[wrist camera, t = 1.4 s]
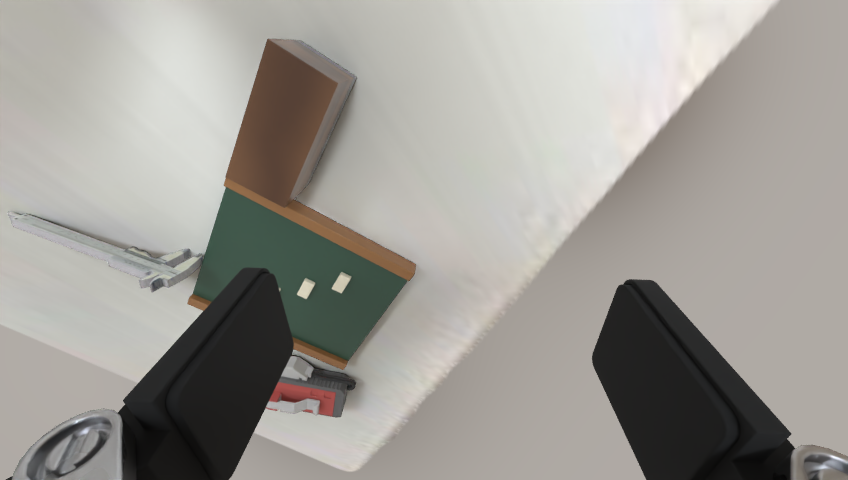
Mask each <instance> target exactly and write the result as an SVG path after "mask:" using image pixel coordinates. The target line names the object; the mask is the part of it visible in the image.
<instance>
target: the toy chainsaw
mask: <svg viewBox="0 0 848 480" xmlns="http://www.w3.org/2000/svg"><path fill="white" fill-rule="evenodd" d="M349 384H350V385H349ZM355 385H356V382H355V381H354V380H352V379H349V377H347V376H346V375H345V374H342V373H337V372H331V371H326V370H321V369H315V368H314V367H312V366H311V365H310V364H309V363H307V362H306V361H304V360H303V359H301V358H300V357H296V356H291V357H290V359H289V361H288V363H287V365H286V367H285V369H284V371H283V373H282V375H281V377H280V379H279V381H278V383H277V386H276V388H275V390H274V392H273V394H272V396H271V398H270V400H269V402H268V404H267V406H266V409H269V410H275V411H277V410H280V411H281V412H286V413H292V414H295V413H298V412H300V411H303V412H309V413H313V414H314V415H318V414H320V415H326V416H331V417H341V415H342V411H343V407H344V404H345V400H346V394H347V390H353V389H354V388H355Z"/></svg>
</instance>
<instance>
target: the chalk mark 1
mask: <svg viewBox="0 0 848 480" xmlns="http://www.w3.org/2000/svg"><path fill="white" fill-rule="evenodd" d="M314 285H315V282H313V281H311V280H309V279H307V278H305V280H304V282H303V284H302V285H301V287H300V289H299V291H298V293H297V295H298V296H301V297H303V298H305V299H307V298H308V296H309V294H310V292H311V290H312V289H313V287H314Z"/></svg>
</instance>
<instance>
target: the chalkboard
mask: <svg viewBox="0 0 848 480" xmlns="http://www.w3.org/2000/svg"><path fill="white" fill-rule="evenodd" d="M224 186H225V187H226V189H225V192H224V195H223V198H222V202H221V205H220V208H219V211H218V214H217V218H216V221H215V224H214V227H213V231H212V234H211V237H210V240H209V243H208V247H207V250H206V253H205V256H204V259H203V263H202V266H201V269H200V272H199V276H198V279H197V282H196V285H195V288H194V292H193V294H192V295H191V296H190V297H189V300H188V303H187V304H189V305H191V306H194V307H196V308H198V309H201V310H203V311H204V310H205V309H206V308H207V307H208V306H209V305H210V303H211V302H212V301H213V300H214V299H215V298H216V297H217V296H218V295H219V294H220V292H221V291H222V290H223V289H224V288H225V287H226V286H227V285H228V284H229V282H230V281H231V280H232V279H233V278H234V277H235V276H236V275H237V274H238V273H239V271H240V270H242V269H243V268H246V267H249V268H266V269H268V270H269V272H270V273H272V274H274V275H275V277H276V280H277V284H278V287H279V288H281V290H280V295H281V298H282V302H283V305H284V309H285V313H286V316H287V320H288V323H289V327H290V331H291V334H292V338H293V342H294V347H293V349H295V350H297V351H300V352H302V353H304V354H307V355H309V356H311V357H314V358H316V359H318V360H321V361H323V362H326V363H328V364H330V365H333V366H335V367H337V368H340V369H342V370H344V368H345V367H346V365H347V363H348V361H349V359H350V358H351V357H352V355H353V354H354V352H355V351H356V350H357V348H358V347H359V346H360V344H361V343H362V342H363V340H364V339H365V338H366V336H367V335H368V334H369V332H370V331H371V330H372V328H373V327H374V325H375V324H376V323H377V321H378V320H379V319H380V317H381V316H382V315H383V313H384V312H385V311H386V309H387V308H388V307H389V305H390V304H391V303H392V301H393V300H394V298H395V297H396V296H397V294H398V293H399V292H400V290H401V289H402V288H403V286H404V285H405V284H406V282H407V281H410V279H411V278H412V277H413V275H414V274H415V268H416V264H414V263H413V262H411V261H409V260H407V259H405V258H403V257H401V256H399V255H397V254H396V253H394V252H392V251H390V250H388V249H386V248H384V247H382V246H380V245H379V244H377V243H375V242H373V241H371V240H369V239H367V238H365V237H363V236H362V235H360V234H358V233H356V232H354V231H352V230H350V229H348V228H346V227H345V226H343V225H341V224H339V223H337V222H335V221H333V220H331V219H330V218H328V217H326V216H324V215H322V214H320V213H318V212H316V211H314V210H313V209H311V208H309V207H307V206H305V205H303V204H301V203H299V202H297V201H296V200H293V201H292V202H291V203H290V204H289V205H288V206H287V207H286V208H283V207H281V206H279V205H278V204H276V203H274V202H272V201H270V200H268V199H266V198H264V197H262V196H260V195H258V194H256V193H254V192H253V191H251V190H249V189H247V188H245V187H243V186H241V185H239V184H237V183H235V182H233V181H231V180H230V179H228V178H226V179H225V183H224ZM341 272H343V273H345V274H347V275H349V276H351V279H350V281H349V282H348V284H347V286H346V287H345V289H344V290H343V292H342V293H339V292H337V291H335V290H333V289H332V287H333V285H334V283H335V282H336V280H337V278H338V277H339V275H340V273H341ZM305 278H307V279H309V280H311V281H313V282H315V285H314V287H313V289H312V290H311V292H310V294H309V296H308V298H307V299H305V298H303V297H301V296H298V295H297V293H298V291H299V289H300V287H301V285H302V284H303V282H304V280H305Z"/></svg>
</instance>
